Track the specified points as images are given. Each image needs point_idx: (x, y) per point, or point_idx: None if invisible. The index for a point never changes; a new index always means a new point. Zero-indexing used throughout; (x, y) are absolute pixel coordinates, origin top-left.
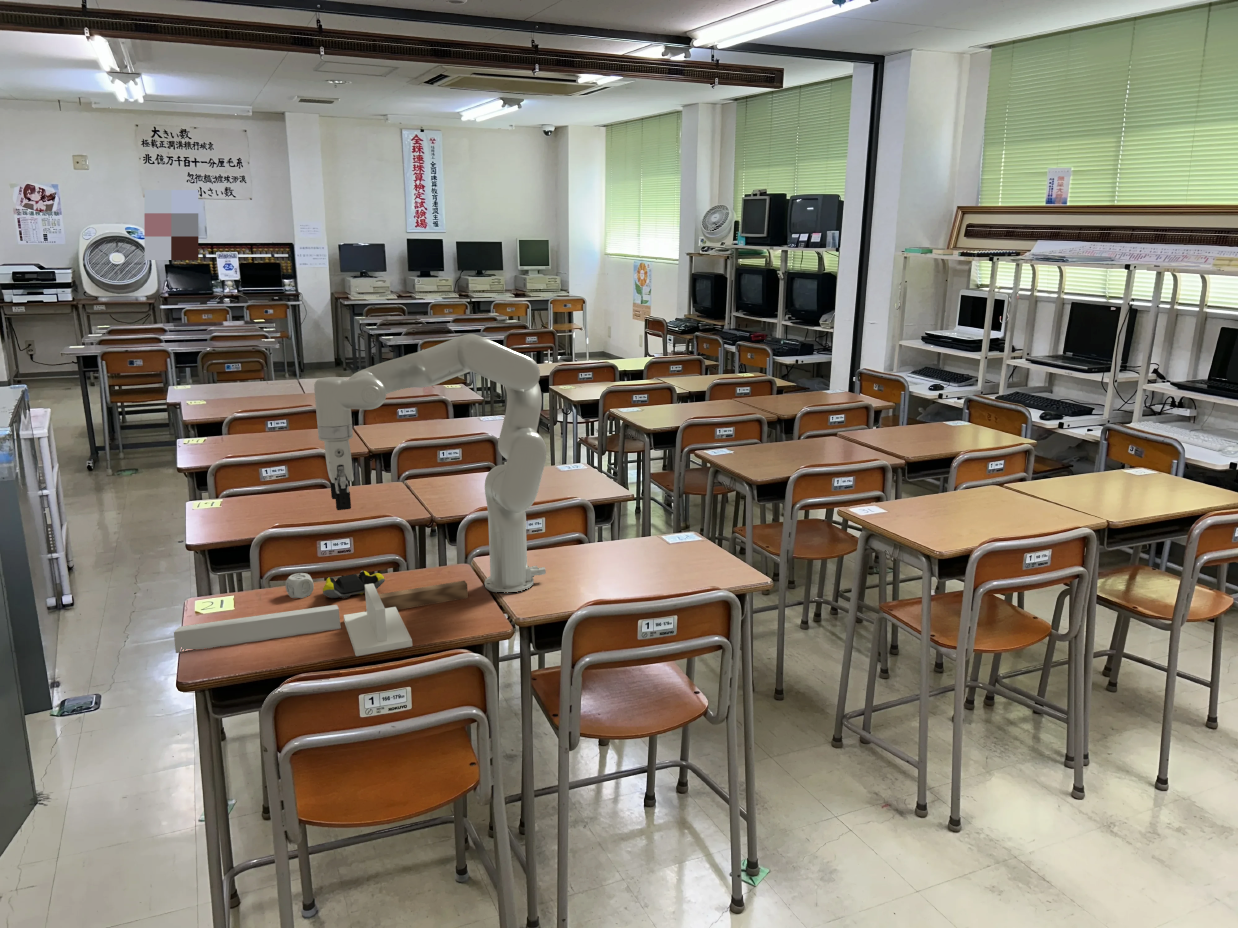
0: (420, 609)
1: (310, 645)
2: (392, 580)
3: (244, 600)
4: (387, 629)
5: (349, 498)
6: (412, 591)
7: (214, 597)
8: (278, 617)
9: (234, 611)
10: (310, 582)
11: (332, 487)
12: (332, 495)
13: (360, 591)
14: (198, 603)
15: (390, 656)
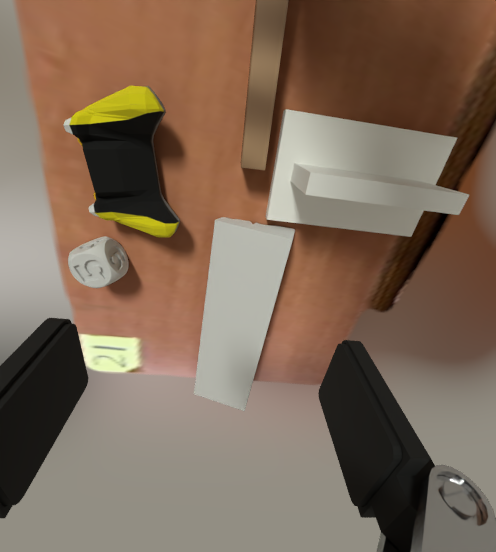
0: (300, 44)
1: (323, 277)
2: (72, 39)
3: (106, 325)
4: (380, 165)
5: (392, 403)
6: (273, 41)
7: None
8: (269, 321)
9: (147, 338)
10: (106, 248)
11: (38, 463)
12: (76, 402)
13: (154, 154)
14: (98, 368)
15: (448, 186)
